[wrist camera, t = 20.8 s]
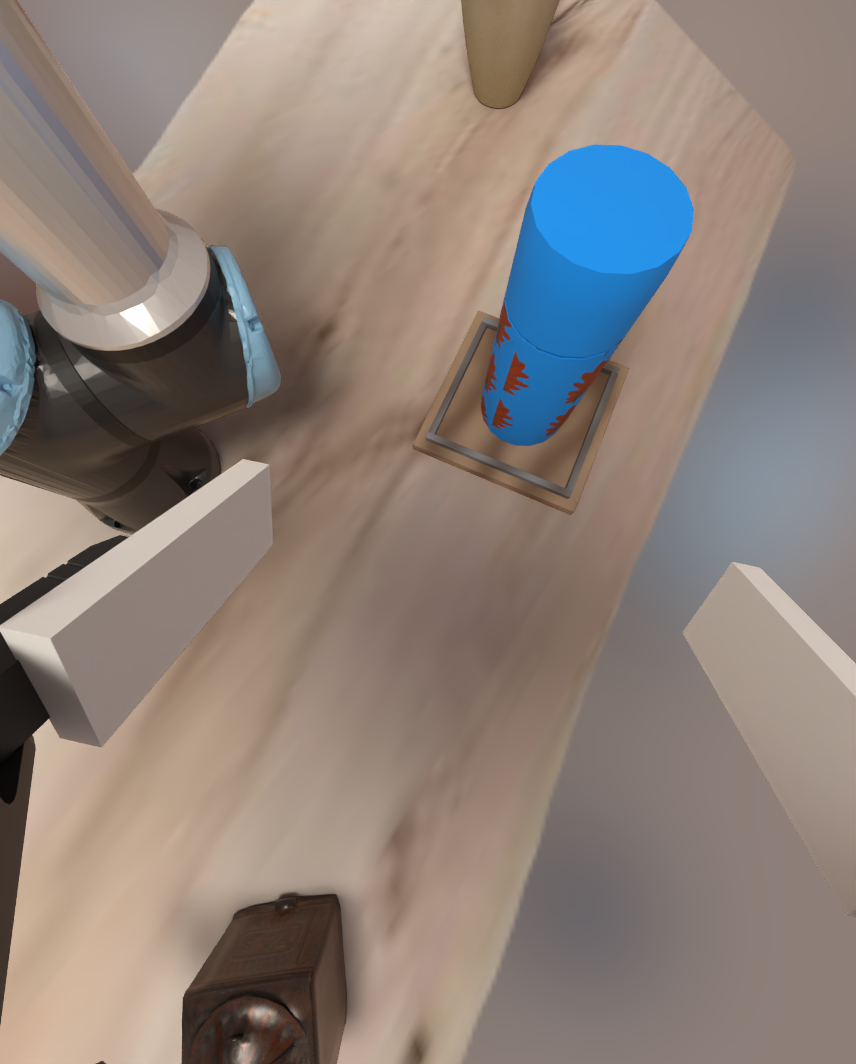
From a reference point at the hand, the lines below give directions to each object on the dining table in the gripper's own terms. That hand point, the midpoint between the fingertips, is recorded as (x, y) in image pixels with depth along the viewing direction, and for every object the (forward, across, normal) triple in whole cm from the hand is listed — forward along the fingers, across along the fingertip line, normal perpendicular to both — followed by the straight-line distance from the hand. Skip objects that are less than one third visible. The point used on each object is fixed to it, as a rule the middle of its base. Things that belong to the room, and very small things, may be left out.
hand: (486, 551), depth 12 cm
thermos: (+42, +6, -5) cm, 43 cm away
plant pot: (+81, -6, +33) cm, 88 cm away
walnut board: (+43, +6, -6) cm, 44 cm away
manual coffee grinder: (0, -9, -52) cm, 53 cm away
